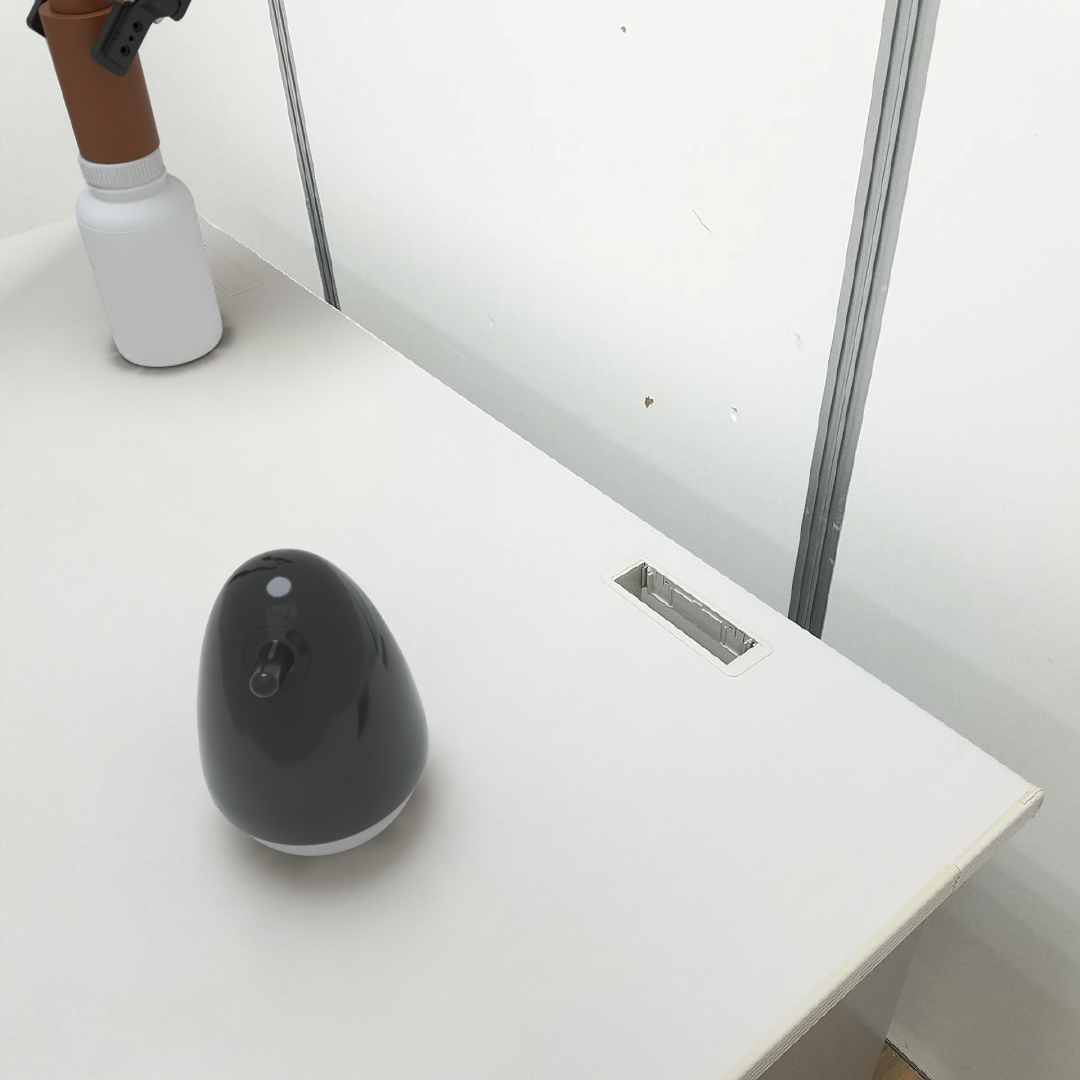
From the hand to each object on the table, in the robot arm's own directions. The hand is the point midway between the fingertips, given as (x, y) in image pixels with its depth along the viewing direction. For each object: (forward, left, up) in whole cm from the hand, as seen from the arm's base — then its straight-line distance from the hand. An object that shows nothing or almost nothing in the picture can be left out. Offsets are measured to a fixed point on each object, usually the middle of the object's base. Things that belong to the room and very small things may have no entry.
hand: (72, 51), depth 71 cm
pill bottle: (+1, +1, -22) cm, 22 cm away
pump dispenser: (+33, -31, -22) cm, 50 cm away
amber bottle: (+1, +1, -7) cm, 7 cm away
